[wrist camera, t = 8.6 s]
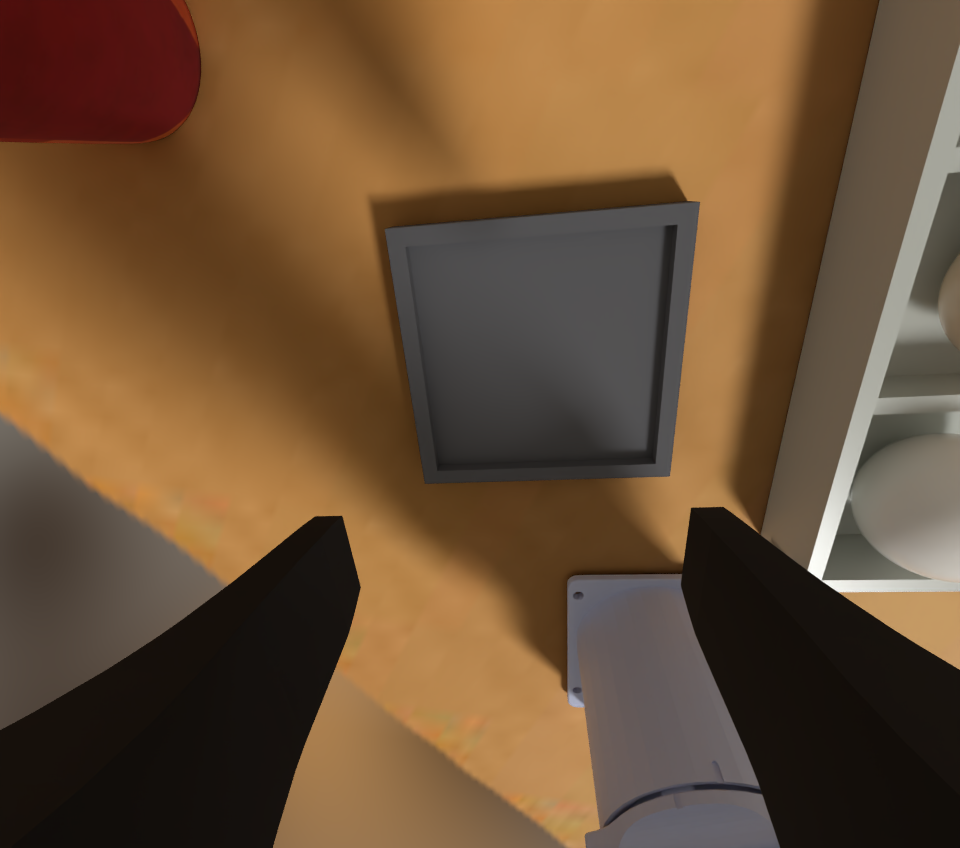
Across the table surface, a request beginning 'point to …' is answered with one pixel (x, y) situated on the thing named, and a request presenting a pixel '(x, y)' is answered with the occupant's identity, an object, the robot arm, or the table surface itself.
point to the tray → (878, 302)
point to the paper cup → (96, 70)
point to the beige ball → (951, 303)
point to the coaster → (546, 341)
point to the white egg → (913, 504)
